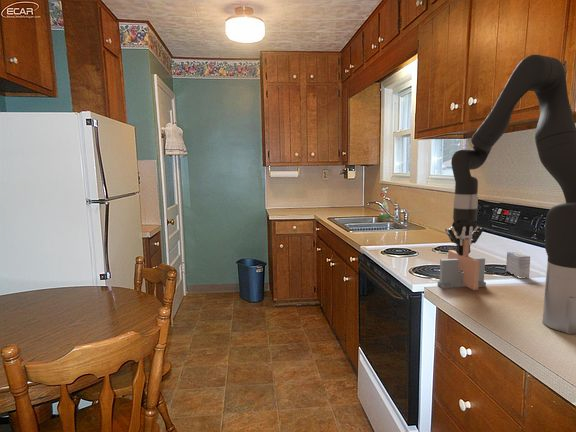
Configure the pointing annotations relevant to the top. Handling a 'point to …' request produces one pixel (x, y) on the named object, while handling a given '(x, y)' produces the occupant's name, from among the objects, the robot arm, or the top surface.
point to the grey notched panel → (457, 273)
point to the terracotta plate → (467, 266)
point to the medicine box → (518, 264)
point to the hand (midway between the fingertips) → (463, 254)
